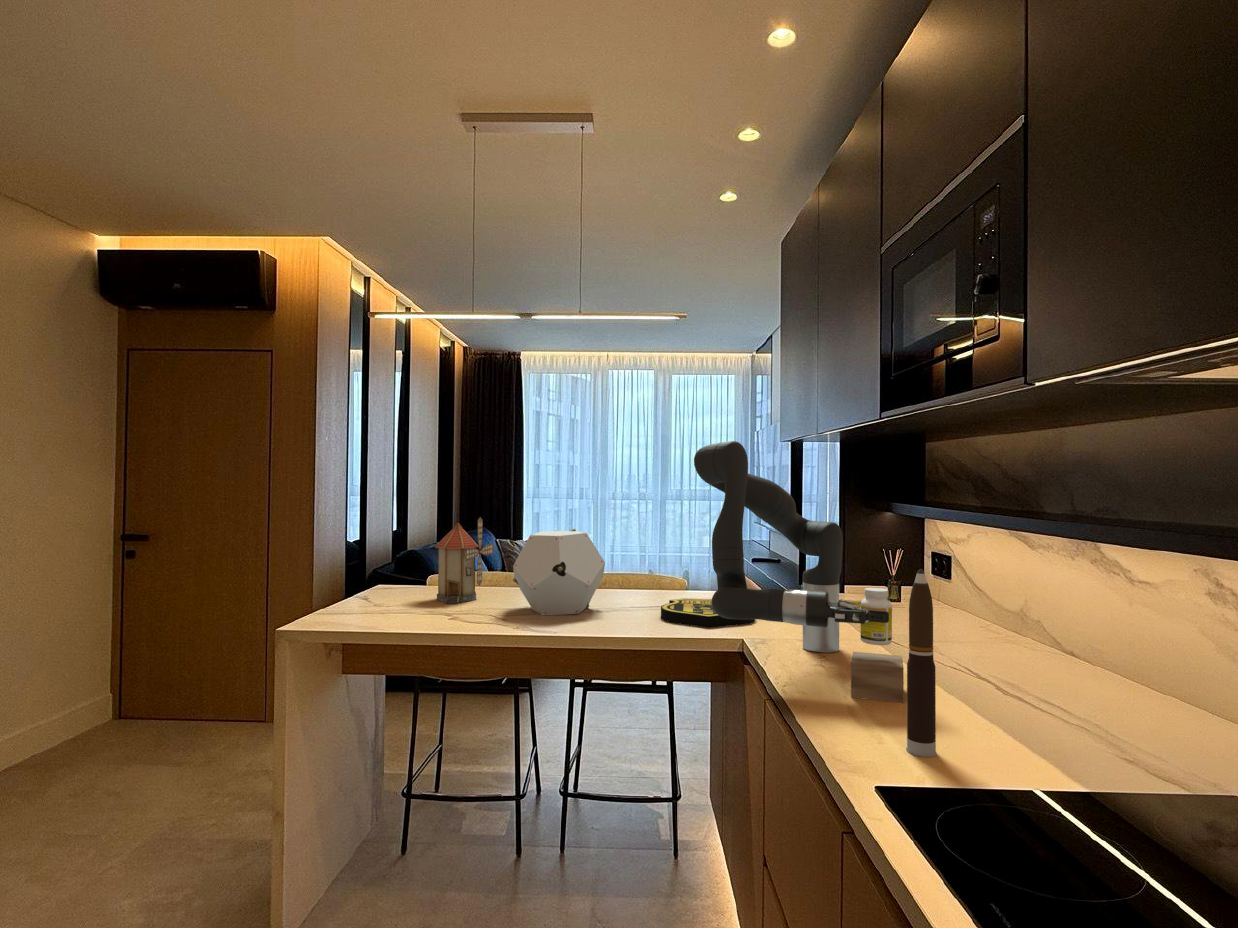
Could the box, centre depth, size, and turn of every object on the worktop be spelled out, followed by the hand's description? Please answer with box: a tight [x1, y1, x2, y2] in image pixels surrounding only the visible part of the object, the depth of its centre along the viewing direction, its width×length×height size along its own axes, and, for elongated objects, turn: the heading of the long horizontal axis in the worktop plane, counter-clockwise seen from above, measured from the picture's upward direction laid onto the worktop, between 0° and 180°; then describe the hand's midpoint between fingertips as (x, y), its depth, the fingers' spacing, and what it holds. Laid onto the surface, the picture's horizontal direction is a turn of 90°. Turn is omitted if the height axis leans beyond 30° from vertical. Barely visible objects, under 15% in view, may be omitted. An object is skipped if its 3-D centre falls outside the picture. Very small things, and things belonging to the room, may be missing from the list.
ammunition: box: [906, 568, 937, 758], centre depth 117 cm, size 5×5×30 cm
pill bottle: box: [860, 587, 893, 646], centre depth 149 cm, size 6×6×11 cm
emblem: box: [660, 598, 756, 629], centre depth 226 cm, size 30×4×30 cm
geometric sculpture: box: [512, 528, 606, 616], centre depth 238 cm, size 30×30×30 cm
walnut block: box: [850, 651, 905, 704], centre depth 149 cm, size 10×10×7 cm
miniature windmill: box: [434, 516, 495, 605], centre depth 257 cm, size 24×20×30 cm
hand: (888, 614), depth 148 cm, fingers closed on pill bottle, 6 cm apart
